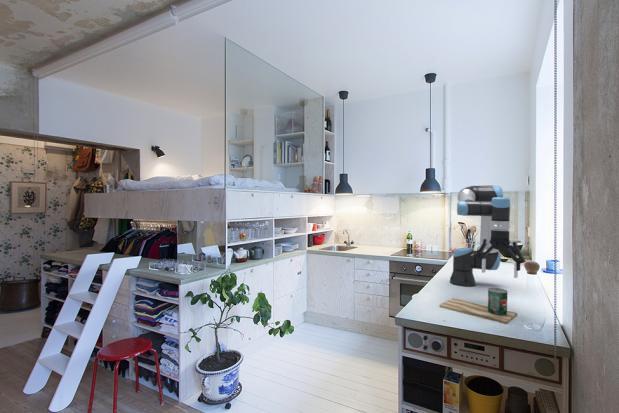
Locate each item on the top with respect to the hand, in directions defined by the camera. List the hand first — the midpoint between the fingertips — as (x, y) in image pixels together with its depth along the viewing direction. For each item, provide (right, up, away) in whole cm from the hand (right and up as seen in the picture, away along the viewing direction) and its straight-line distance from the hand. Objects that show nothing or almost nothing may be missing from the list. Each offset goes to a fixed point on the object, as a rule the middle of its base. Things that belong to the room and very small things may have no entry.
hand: (499, 274), depth 150 cm
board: (-7, -19, +6) cm, 21 cm away
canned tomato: (-1, -18, -1) cm, 18 cm away
